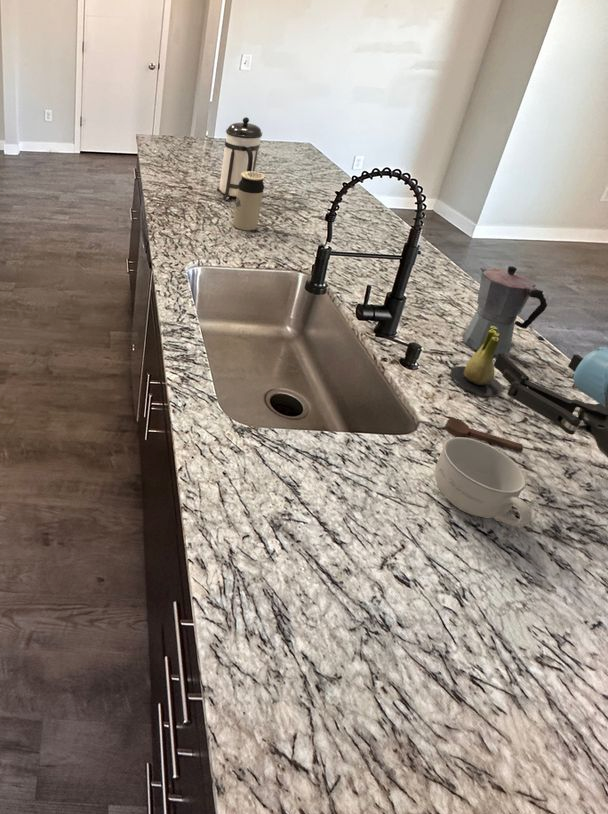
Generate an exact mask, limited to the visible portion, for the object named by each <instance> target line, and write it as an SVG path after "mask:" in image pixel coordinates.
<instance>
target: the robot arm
mask: <svg viewBox="0 0 608 814" xmlns="http://www.w3.org/2000/svg"><path fill="white" fill-rule="evenodd" d="M493 364H494V368H495V369H496V370H498V371H499V372H500V373H501V374H502V378H503V379H505V381H507V382H508V383H509V384H510V385H509V388H508V390H507V392H506V394H507V396H508V397H511V398H512V399H513V400H515V401H517V402H518V403H519V404H521V405H524V406H525V407H527V408H529V410H532V411H533V412H535V413H537V414H538V415H540V416H542V417H544V418H545V419H547V420H549V421H550V422H552V423H554V424H555V425H557V426H558V427H559V428H560V429H561V430H563V431H564V432H565V433H566V434H568V435H571V436H574V435H575V433H576V431H583V432H585V433H588V434H589V435H590V436H592V437H593V439H594V441H595V443H596V446H597V448H598V450H599V451H600V452H601V453H602V454H603V455H604V456H606V458H608V347H607V346H599V347H597V348H595V349H594V350H592V351H590V352H588V354H586V356H585V357H584V358H583V357H582V356H581V355H579V354H573V355H572V357H571V360H570V362H569V363H568V364H567V365H568V366H567V367H568V368H569V369H570V370H571V371H572V372H574V373H573V384H574V386H575V387H576V388H577V389H578V391H579V392H582V393H583V394H584V395H586V396H588V397H589V398H590V399H592V400H594V401H595V402H597V403H589V402H587V403H586V402H584V401H582V400H579V399H577V398H573V399H570V398H568V397H565V396H564V395H562V394H559V393H556V392H554V391H552V390H550V389H547V388H545V387H544V386H541V385H539V384H536V383H534V382H532V381H530V377H529V376H528V375H527V374H526V373H525V372H524V371H523V370H522V369H520V368H519V366H518V365H516V364H515V363H514V362H513V361H512V360H511V359H510V358H509V357H507V355H504V354H503V353H499V354H498V356H496V358H495V361H494V362H493ZM576 408H578V410H577V411H578V412H577V415H576V414H575V413H574V412H575V410H576Z"/></svg>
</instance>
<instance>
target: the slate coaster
mask: <svg viewBox="0 0 608 814" xmlns="http://www.w3.org/2000/svg"><path fill="white" fill-rule="evenodd" d="M465 367H466V365H465V366H464V365H461V366H460V365H458V366H455V367H453V368H451V371H450V373H449V376H450V379H451V381H452V382H453V383H454V384H455V385H456V386H458V388H460V389H462V390H463V391H465V392H467V393H470V394H471V395H474V396H477V397H481V398H489V399H492V398H497V397H500V395H501V394H502V392H503V386H502V384H501V383H500V382H499V381H498V380H497V379H496V378H495V377H494V378H493V380H492V381H491V382H490V383H488V384H485V385H477V384H474V383H472V382H470V381H468V380H467V379H466V378H465V376H464V371H465Z"/></svg>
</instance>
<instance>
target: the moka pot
mask: <svg viewBox="0 0 608 814" xmlns="http://www.w3.org/2000/svg"><path fill="white" fill-rule="evenodd" d="M479 269H480V270H481V277H480V283H479V289H478V294H477V300H476V303H477V308H476V311H475V313H474V314H473V316H472V318H471V320H470V322H469V324H468V326H467V328H466V329H465V332H464V333H463V335H462V341H463V343H464V344H465V345H466V346H467V347H470V348H471V349H473V350H474V351H476V352H477V351H478V350H479V348H480V347H481V345H482V344H483V342H484V339H485V337H486V335H487V333H488V330H489V328H490V327H491V326H494V327H496V328H497V331H496V333H499V334H500V337H499V342H498V345H497V347H496V350H495V352H494V355H493V357H497V356H498V354H499V353H503V354H504V355H505V356H507V355H509V353H510V351H511V347H512V339H513V335H514V328H515V326H516V327H519V328H521V329H525V330H527V328H528V327H530V325H532V324H533V322H534V321H535V320H536V319H537V318H538V317H539V316H540V315H541V314H542V313H544V312H545V310H546V309H547V307H548V303H547V299H546V297H545V295H544V294H543V293H544V291H543V290H541V289H537V288H536V283H535V282H534V281H532V280H530V279H529V278H528V277H526V276H525V275H522V274H518V273H516V272H517V270H518V269H517V268H516V267H515V266H511V265H510V266H508V267H507V270H506V269H497V268H494V267H492V266H491V267H490V266H487V267H480V268H479ZM529 298H533V299H537V300H539V302H540V304H539V305H538V306H537V307H536V308H535V309H534V310H533V312H532V313H531V314H530V315H529V316H528V317H527V319H526V320H524V321H523V322H520V321H519V320H517V317H518V316H519V314H521V312H522V311H523V308H524V307H525V305H526V304H527V303H528V300H529Z"/></svg>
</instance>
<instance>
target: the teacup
mask: <svg viewBox="0 0 608 814" xmlns="http://www.w3.org/2000/svg"><path fill="white" fill-rule="evenodd" d="M434 479H435V483H436V486H437V487H438V489H439V490H440V492H441V494H442V495H444V497H445V498H446V499H447V501H449V502H450V504H452V505H453V506H454V507H456V508H457V509H458V510H460V511H462V512H464V513H466V514H468V515H471V516H475V517H480V518H486V519H494V520H495V521H497V522H503V523H505V524H508V525H510V526H513V527H517V528H522V527H523V528H524V527H526V526H528V525H530V524H531V522H532V518H533V515H532V511H531V509H530V507H529V505H528V504H527V503H526V501H524V500H523V499H521V498H519V496H520V494H521V492H523V490H524V489H525V488H526V486H527V480H526V479H527V478H526V476H525V474H524V472H523V470H522V469H521V468H520V466H519V465H518V464H517V463H516V462H515V461H514V460H513V459H512V458H511V457H509V456H508V455H507V454H505V453H504V452H502V451H500V450H499V449H497V448H496V447H494V446H492V445H490V444H488V443H487V442H484V441H482V440H479V439H475V438H471V437H470V438H469V437H466V438H463V437H456V436H454V437H451V438H449V439H447V440H445V442H444V443H443V446H442V449H441V452H440V454H439V457H438V459H437V462H436V465H435V467H434ZM514 506H515V507H516V508H517V509H518V511H519V518H518V519H517V518H514V517H512V516H510V515H508V514H507V513H508V512H510V510H511V508H512V507H514Z"/></svg>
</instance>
